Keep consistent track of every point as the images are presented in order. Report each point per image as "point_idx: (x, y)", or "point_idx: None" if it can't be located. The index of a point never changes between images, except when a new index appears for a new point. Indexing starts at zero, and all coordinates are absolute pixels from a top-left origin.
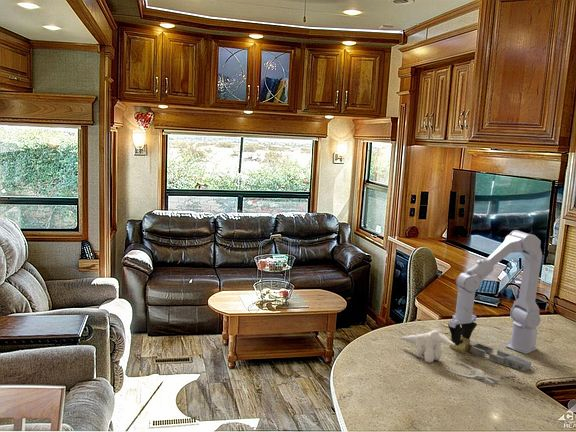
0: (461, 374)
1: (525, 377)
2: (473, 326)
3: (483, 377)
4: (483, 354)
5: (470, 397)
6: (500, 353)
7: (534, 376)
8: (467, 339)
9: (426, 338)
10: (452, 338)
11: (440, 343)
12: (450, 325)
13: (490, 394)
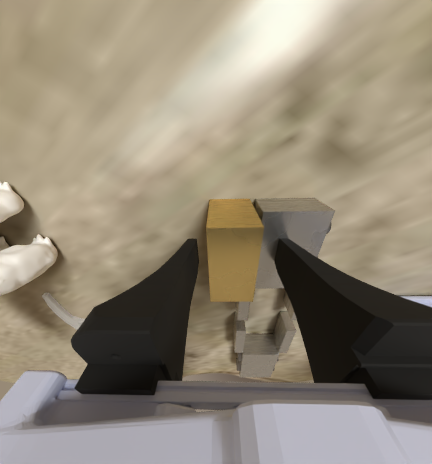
0: (71, 323)
1: (213, 363)
2: (314, 382)
3: None
4: (236, 308)
5: (33, 355)
6: (282, 330)
7: (234, 366)
8: (243, 294)
9: None
10: (175, 255)
11: None
12: (21, 394)
13: (83, 362)
